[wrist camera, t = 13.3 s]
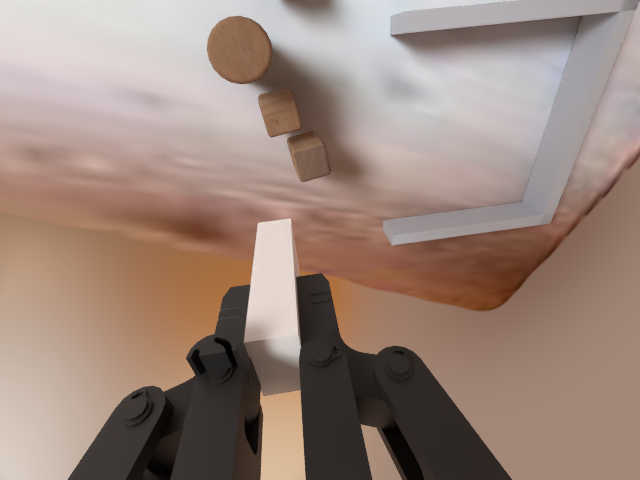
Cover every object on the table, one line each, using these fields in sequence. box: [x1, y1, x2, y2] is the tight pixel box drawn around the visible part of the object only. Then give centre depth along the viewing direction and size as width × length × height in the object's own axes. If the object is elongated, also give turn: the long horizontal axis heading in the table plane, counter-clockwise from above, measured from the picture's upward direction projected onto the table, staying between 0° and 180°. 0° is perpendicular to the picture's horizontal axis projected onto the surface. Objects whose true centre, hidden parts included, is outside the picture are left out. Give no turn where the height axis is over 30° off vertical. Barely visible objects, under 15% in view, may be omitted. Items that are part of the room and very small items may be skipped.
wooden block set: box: [207, 16, 331, 182], centre depth 25 cm, size 18×9×10 cm, turn 13°
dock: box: [383, 0, 640, 245], centre depth 34 cm, size 24×22×4 cm
